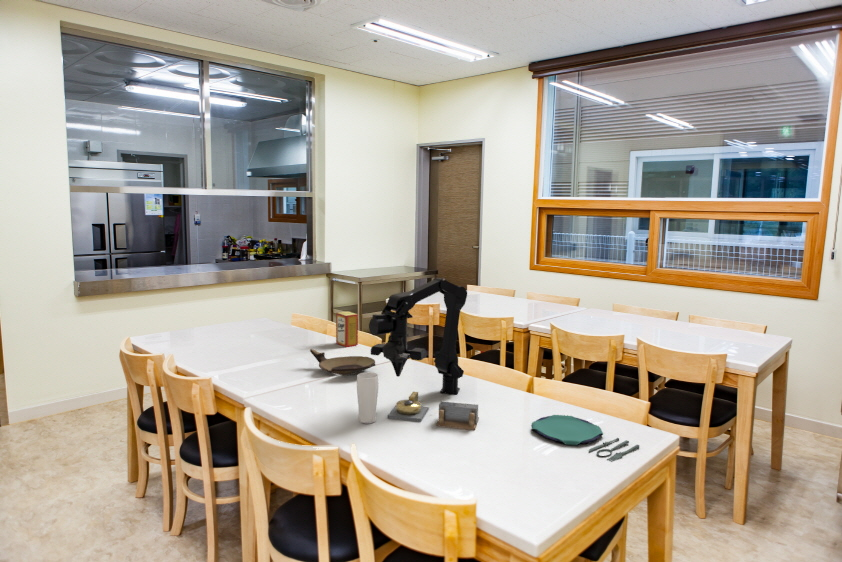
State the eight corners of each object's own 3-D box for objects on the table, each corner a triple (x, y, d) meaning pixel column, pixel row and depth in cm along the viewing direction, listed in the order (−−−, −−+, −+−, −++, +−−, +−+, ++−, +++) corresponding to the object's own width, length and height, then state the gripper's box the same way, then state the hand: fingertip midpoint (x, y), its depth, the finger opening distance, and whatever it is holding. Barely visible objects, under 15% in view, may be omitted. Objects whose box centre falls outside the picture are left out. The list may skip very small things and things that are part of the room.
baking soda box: (357, 345, 273) (357, 313, 271) (346, 347, 269) (346, 315, 267) (347, 341, 280) (347, 310, 278) (336, 343, 276) (336, 312, 274)
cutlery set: (560, 416, 183) (561, 409, 183) (644, 449, 160) (645, 441, 160) (519, 430, 171) (520, 423, 171) (604, 468, 148) (604, 460, 148)
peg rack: (442, 415, 182) (442, 401, 181) (478, 419, 179) (479, 405, 178) (436, 425, 173) (437, 411, 172) (474, 430, 170) (475, 415, 170)
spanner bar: (438, 420, 175) (438, 405, 175) (440, 416, 179) (441, 401, 178) (476, 424, 173) (476, 408, 172) (477, 419, 176) (478, 404, 176)
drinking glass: (358, 426, 172) (358, 379, 170) (355, 418, 178) (355, 372, 176) (380, 424, 174) (380, 377, 172) (375, 416, 180) (376, 371, 178)
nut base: (397, 406, 189) (397, 403, 189) (428, 409, 187) (428, 407, 187) (387, 418, 179) (387, 415, 178) (420, 421, 176) (421, 418, 176)
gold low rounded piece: (404, 399, 193) (404, 390, 192) (426, 401, 191) (427, 392, 190) (393, 413, 180) (393, 403, 179) (417, 415, 178) (417, 406, 177)
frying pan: (341, 385, 211) (341, 366, 210) (301, 368, 233) (301, 350, 232) (387, 374, 226) (387, 356, 225) (345, 359, 248) (345, 342, 247)
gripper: (363, 333, 185) (363, 379, 187) (415, 339, 178) (414, 386, 180) (377, 327, 195) (377, 370, 197) (427, 332, 188) (426, 377, 190)
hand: (398, 376), depth 191 cm, fingers closed
